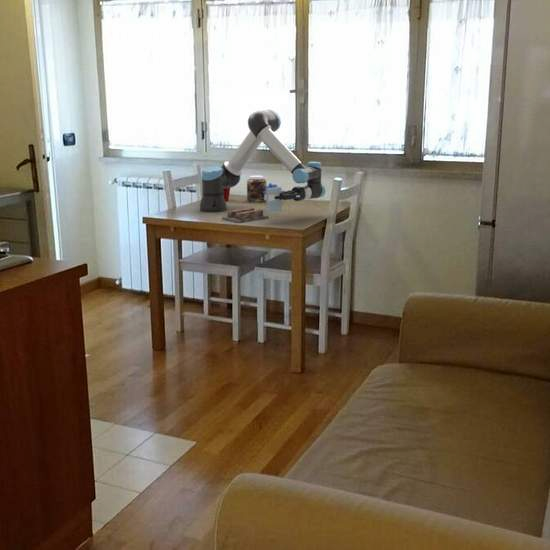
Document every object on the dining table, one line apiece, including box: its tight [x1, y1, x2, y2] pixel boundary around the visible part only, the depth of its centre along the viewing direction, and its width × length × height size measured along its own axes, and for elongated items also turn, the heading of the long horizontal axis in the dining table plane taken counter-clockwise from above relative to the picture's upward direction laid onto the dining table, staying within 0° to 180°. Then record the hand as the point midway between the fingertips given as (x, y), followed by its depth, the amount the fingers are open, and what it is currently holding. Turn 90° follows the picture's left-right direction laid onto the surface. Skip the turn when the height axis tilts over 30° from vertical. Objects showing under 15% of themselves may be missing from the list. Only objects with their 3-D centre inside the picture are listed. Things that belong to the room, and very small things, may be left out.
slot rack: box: [221, 207, 269, 224], centre depth 374 cm, size 20×14×4 cm
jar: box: [246, 174, 267, 203], centre depth 427 cm, size 12×12×15 cm
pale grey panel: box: [265, 186, 282, 213], centre depth 364 cm, size 8×2×12 cm, turn 132°
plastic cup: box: [223, 188, 231, 202], centre depth 431 cm, size 11×11×12 cm
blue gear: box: [264, 182, 279, 195], centre depth 419 cm, size 12×7×12 cm, turn 120°
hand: (267, 197), depth 361 cm, fingers closed on pale grey panel, 2 cm apart
